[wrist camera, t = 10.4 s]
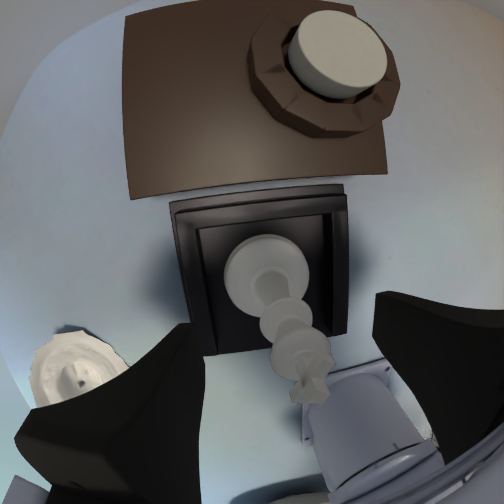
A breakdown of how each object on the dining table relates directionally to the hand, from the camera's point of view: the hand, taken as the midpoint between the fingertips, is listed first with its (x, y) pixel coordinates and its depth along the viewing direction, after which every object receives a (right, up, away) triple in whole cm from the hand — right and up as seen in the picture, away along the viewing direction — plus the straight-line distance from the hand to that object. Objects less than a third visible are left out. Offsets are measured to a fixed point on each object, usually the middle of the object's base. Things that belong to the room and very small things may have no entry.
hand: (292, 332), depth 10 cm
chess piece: (-1, +2, +6) cm, 6 cm away
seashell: (-14, -6, +8) cm, 17 cm away
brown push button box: (-2, +12, +4) cm, 13 cm away
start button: (+2, +11, -1) cm, 11 cm away
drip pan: (-1, +2, +7) cm, 7 cm away
